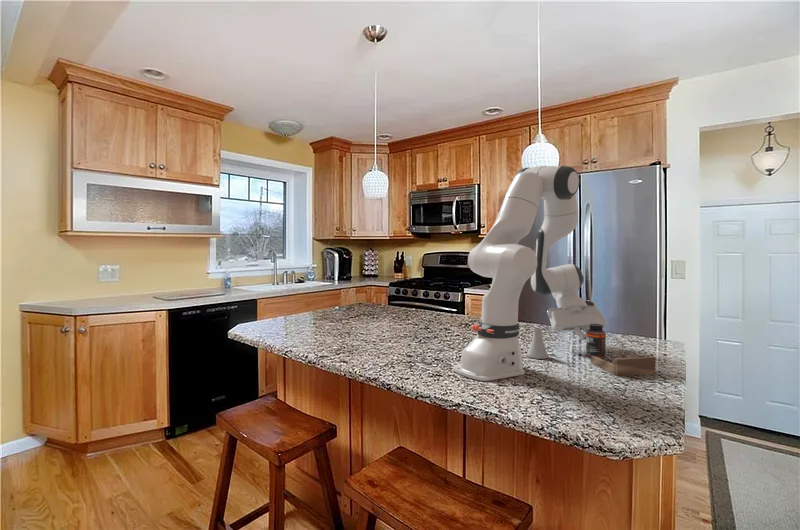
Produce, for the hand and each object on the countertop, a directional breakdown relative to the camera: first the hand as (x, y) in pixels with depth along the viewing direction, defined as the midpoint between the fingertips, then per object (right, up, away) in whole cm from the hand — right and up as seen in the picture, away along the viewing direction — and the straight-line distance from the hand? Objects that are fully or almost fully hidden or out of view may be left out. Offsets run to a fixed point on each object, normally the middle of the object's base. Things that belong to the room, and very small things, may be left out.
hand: (585, 339), depth 142 cm
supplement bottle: (+1, -5, -5) cm, 8 cm away
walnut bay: (+3, -6, -18) cm, 19 cm away
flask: (-19, -5, -5) cm, 21 cm away
